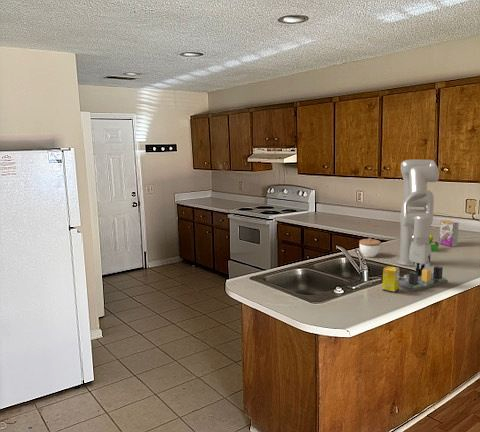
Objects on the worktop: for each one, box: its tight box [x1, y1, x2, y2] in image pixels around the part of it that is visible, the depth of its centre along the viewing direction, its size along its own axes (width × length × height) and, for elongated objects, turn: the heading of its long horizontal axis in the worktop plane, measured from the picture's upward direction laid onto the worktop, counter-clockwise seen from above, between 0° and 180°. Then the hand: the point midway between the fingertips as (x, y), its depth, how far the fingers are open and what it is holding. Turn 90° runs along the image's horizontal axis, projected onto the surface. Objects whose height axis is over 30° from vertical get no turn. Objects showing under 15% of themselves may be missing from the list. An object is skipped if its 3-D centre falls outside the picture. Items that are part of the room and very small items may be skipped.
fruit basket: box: [429, 232, 440, 253], centre depth 284 cm, size 11×9×11 cm
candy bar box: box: [438, 219, 460, 248], centre depth 296 cm, size 11×5×16 cm, turn 22°
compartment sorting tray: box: [399, 265, 449, 293], centre depth 222 cm, size 26×14×8 cm, turn 119°
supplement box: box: [382, 265, 400, 294], centre depth 212 cm, size 6×6×11 cm
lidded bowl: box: [358, 237, 381, 258], centre depth 272 cm, size 13×13×11 cm
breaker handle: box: [421, 268, 432, 282], centre depth 218 cm, size 3×3×6 cm
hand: (419, 275), depth 221 cm, fingers closed
